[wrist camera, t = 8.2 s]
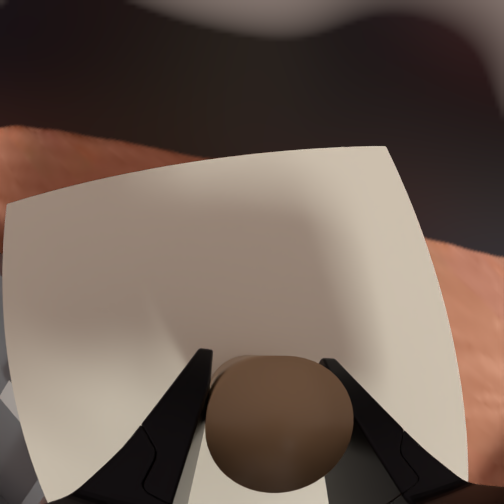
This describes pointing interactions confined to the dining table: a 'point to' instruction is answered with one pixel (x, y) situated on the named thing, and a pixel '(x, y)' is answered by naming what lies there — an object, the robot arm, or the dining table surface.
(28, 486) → the tray
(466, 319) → the dining table surface
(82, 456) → the tub lid
